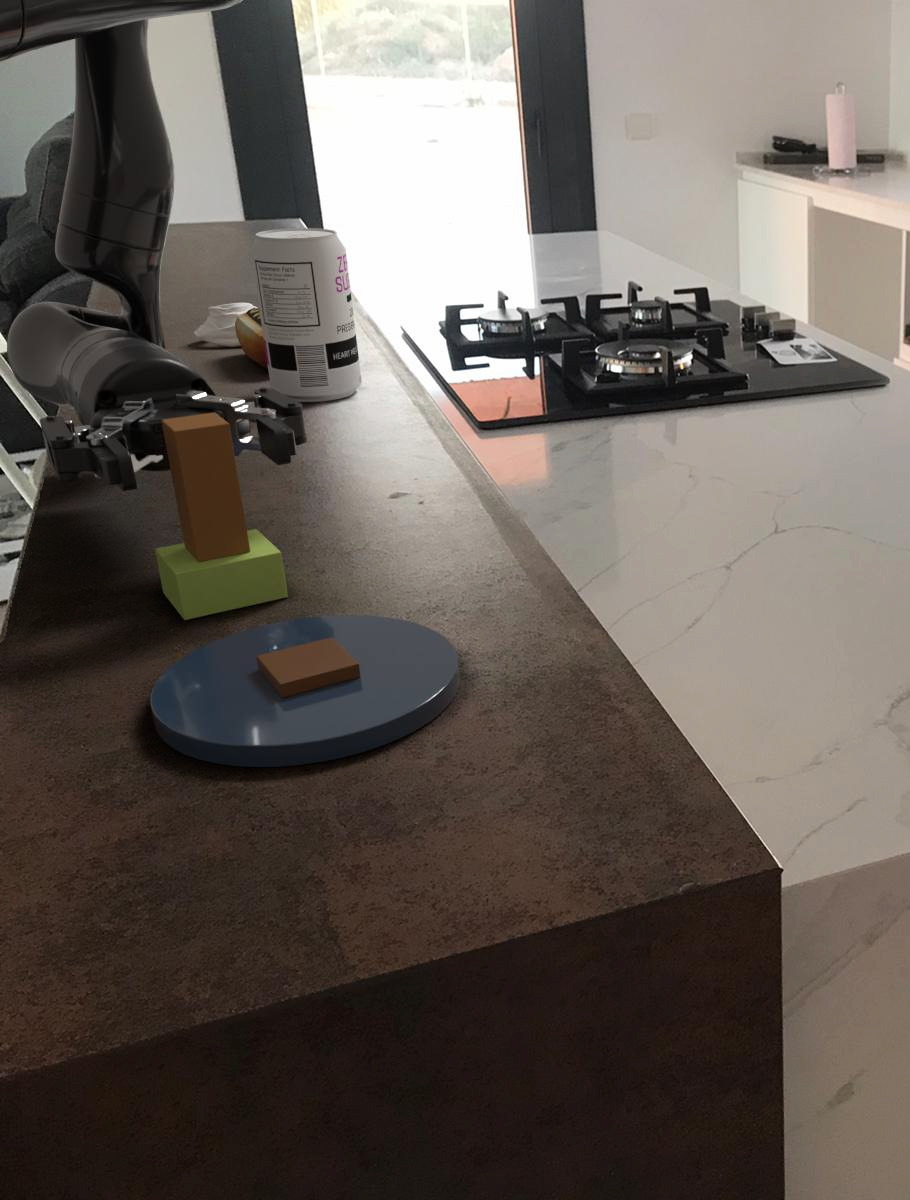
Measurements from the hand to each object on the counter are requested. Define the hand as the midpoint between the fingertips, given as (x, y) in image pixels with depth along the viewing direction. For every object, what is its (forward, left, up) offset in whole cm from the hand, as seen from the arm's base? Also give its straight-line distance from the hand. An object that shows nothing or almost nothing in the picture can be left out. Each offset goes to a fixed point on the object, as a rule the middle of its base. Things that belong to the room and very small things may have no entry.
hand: (208, 460), depth 74 cm
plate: (0, -15, -9) cm, 17 cm away
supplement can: (+21, +47, -9) cm, 53 cm away
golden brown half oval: (+21, +62, -9) cm, 67 cm away
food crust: (0, -15, -8) cm, 16 cm away
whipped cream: (+21, +75, -9) cm, 79 cm away
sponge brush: (0, +1, -9) cm, 9 cm away
